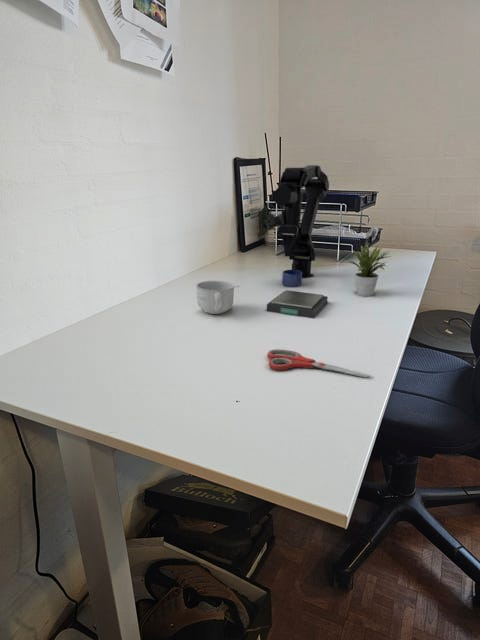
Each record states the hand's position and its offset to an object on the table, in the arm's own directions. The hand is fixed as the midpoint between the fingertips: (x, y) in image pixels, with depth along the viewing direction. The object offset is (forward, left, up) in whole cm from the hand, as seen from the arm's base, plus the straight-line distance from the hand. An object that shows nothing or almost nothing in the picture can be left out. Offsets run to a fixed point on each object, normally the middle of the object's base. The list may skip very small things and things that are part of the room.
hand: (288, 255), depth 135 cm
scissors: (+29, +52, -11) cm, 60 cm away
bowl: (-2, 0, -11) cm, 11 cm away
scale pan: (+10, +20, -8) cm, 24 cm away
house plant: (-15, +22, -11) cm, 29 cm away
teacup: (+33, +12, -11) cm, 37 cm away
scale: (+10, +20, -11) cm, 25 cm away
